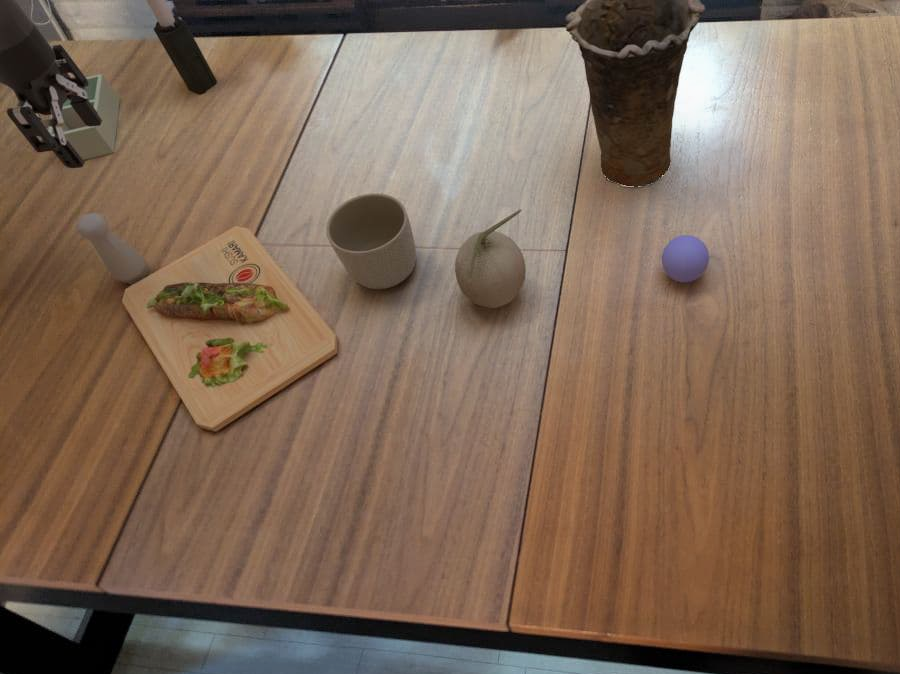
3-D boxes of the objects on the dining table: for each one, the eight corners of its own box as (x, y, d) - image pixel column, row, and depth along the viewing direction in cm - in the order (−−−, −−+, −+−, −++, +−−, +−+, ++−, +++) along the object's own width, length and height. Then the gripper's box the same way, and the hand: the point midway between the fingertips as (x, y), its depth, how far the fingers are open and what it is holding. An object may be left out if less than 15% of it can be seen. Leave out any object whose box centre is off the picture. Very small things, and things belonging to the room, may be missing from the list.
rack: (67, 163, 138) (46, 138, 133) (76, 109, 147) (57, 83, 142) (114, 152, 138) (94, 126, 133) (120, 99, 147) (102, 73, 142)
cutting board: (346, 349, 108) (329, 319, 101) (208, 439, 102) (181, 413, 95) (247, 228, 124) (227, 195, 117) (123, 300, 118) (94, 269, 111)
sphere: (670, 252, 112) (672, 220, 106) (712, 264, 110) (718, 232, 104) (653, 284, 109) (655, 252, 103) (697, 297, 107) (702, 265, 101)
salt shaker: (123, 265, 122) (73, 209, 111) (155, 260, 122) (109, 203, 111) (116, 291, 119) (64, 236, 108) (149, 286, 119) (101, 230, 107)
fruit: (449, 316, 109) (427, 249, 96) (479, 262, 114) (462, 191, 102) (511, 333, 106) (497, 265, 94) (539, 277, 112) (529, 205, 99)
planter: (382, 312, 111) (361, 265, 102) (334, 275, 116) (309, 227, 107) (439, 265, 115) (423, 216, 106) (390, 231, 120) (370, 181, 111)
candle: (203, 74, 149) (134, -52, 127) (219, 81, 147) (151, -45, 126) (185, 88, 147) (112, -38, 126) (201, 95, 145) (129, -31, 124)
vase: (649, 212, 116) (656, 61, 94) (559, 174, 123) (545, 25, 100) (704, 148, 123) (723, -7, 100) (616, 115, 130) (615, -37, 107)
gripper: (-10, 1, 87) (75, 114, 101) (-55, 71, 80) (43, 183, 94) (49, -6, 87) (126, 109, 101) (8, 65, 79) (98, 178, 93)
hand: (86, 145), depth 97 cm, fingers open, 8 cm apart
